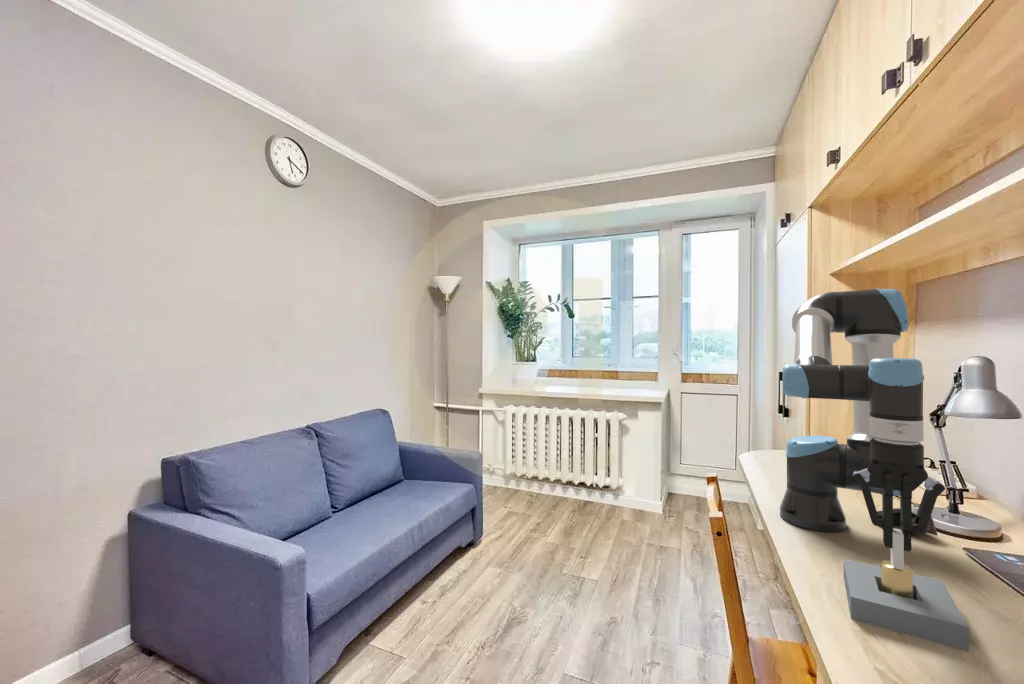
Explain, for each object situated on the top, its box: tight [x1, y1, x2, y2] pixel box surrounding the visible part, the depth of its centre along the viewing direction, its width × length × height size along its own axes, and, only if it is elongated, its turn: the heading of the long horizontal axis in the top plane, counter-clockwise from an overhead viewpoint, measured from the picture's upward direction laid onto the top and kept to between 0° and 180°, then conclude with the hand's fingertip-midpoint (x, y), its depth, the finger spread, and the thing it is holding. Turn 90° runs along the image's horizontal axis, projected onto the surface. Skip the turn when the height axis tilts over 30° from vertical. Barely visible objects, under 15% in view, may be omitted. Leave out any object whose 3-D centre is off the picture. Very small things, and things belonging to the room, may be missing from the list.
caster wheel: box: [876, 503, 938, 537], centre depth 113 cm, size 7×11×10 cm
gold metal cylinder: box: [880, 560, 914, 599], centre depth 80 cm, size 4×4×8 cm
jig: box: [842, 558, 970, 652], centre depth 80 cm, size 16×15×4 cm
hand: (897, 565), depth 80 cm, fingers closed
